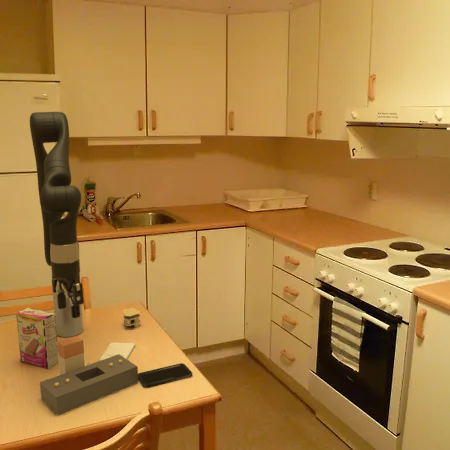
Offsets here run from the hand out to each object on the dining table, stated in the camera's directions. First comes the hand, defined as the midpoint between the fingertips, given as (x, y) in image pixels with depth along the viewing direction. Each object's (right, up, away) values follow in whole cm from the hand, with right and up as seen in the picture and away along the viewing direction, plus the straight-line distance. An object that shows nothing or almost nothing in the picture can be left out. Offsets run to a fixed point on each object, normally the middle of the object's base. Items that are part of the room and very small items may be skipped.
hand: (69, 312), depth 146 cm
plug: (0, -19, +4) cm, 20 cm away
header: (+7, -21, -4) cm, 22 cm away
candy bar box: (-12, -18, +12) cm, 25 cm away
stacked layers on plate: (+11, -12, +39) cm, 42 cm away
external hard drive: (+10, -17, +18) cm, 26 cm away
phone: (+27, -20, +4) cm, 33 cm away
